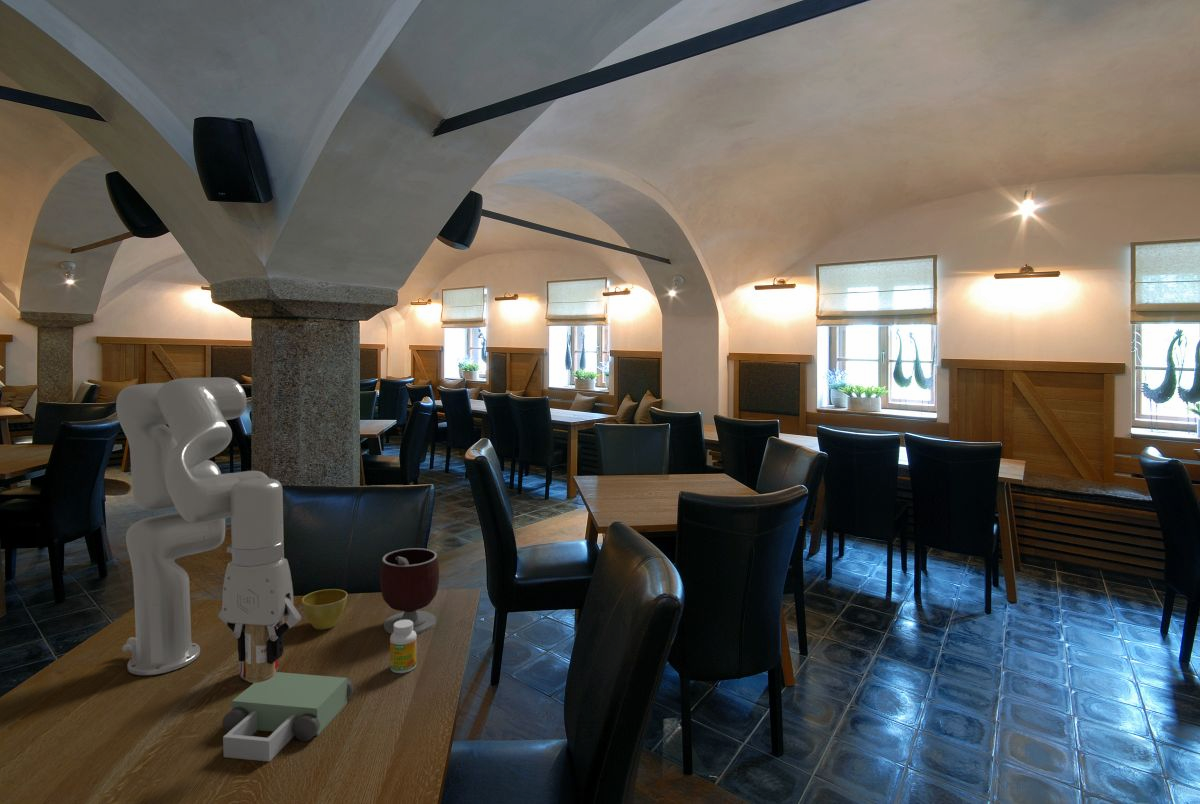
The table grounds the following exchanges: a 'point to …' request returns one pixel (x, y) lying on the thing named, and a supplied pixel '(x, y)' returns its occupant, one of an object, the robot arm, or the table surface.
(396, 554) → the dark red goblet
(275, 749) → the mower deck
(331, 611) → the flower pot
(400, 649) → the supplement bottle
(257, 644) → the sprinkles bottle
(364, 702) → the table surface
